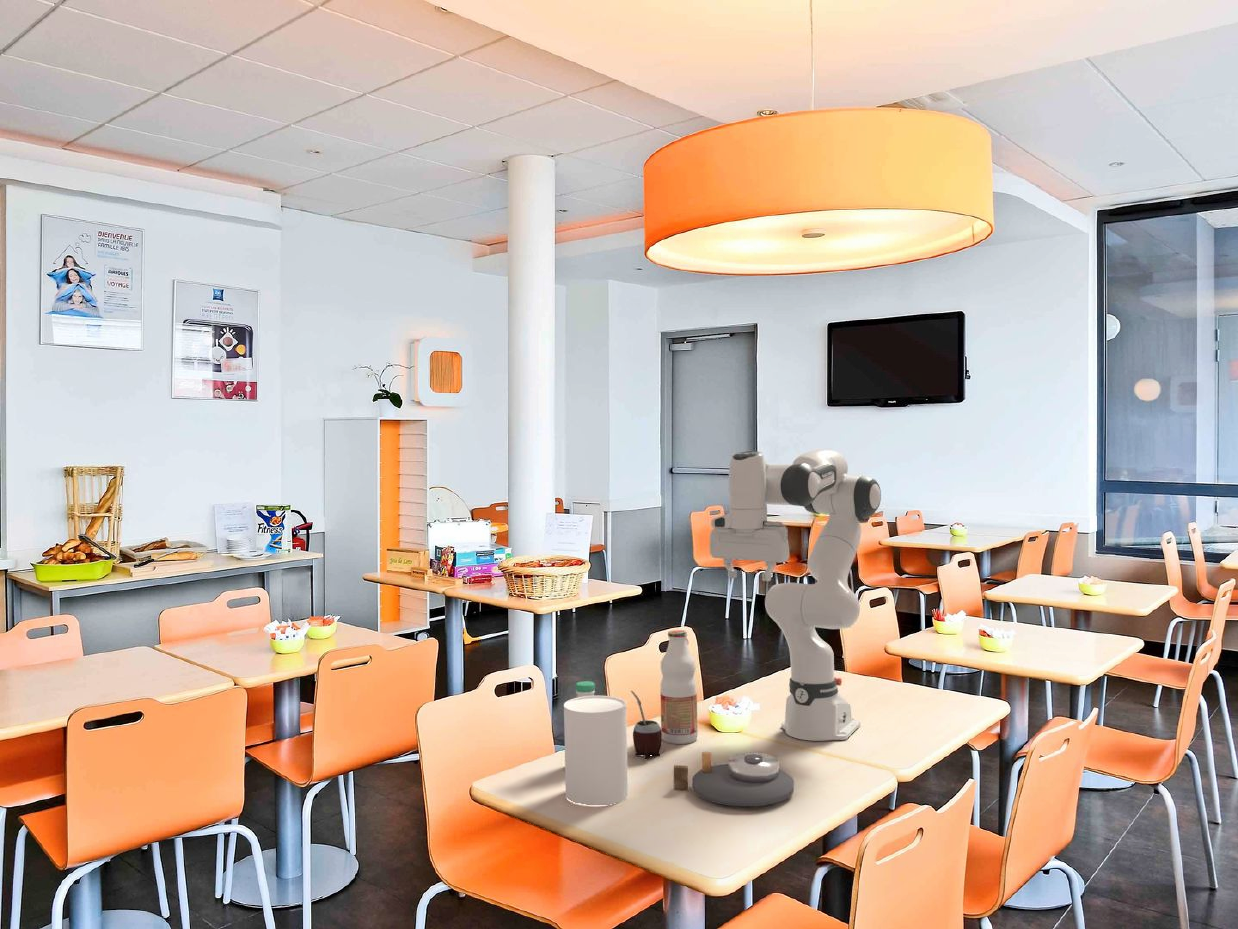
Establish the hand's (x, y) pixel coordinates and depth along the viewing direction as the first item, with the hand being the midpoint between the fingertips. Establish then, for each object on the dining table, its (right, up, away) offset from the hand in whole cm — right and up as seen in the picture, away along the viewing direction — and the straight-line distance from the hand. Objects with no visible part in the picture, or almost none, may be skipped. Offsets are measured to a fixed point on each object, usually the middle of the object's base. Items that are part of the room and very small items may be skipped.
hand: (749, 579), depth 218 cm
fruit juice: (-15, -44, +22) cm, 52 cm away
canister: (-36, -45, -16) cm, 60 cm away
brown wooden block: (-17, -45, -13) cm, 50 cm away
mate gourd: (-24, -45, +10) cm, 52 cm away
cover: (-1, -42, -12) cm, 44 cm away
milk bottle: (-38, -45, +2) cm, 59 cm away
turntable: (-4, -44, -16) cm, 47 cm away
